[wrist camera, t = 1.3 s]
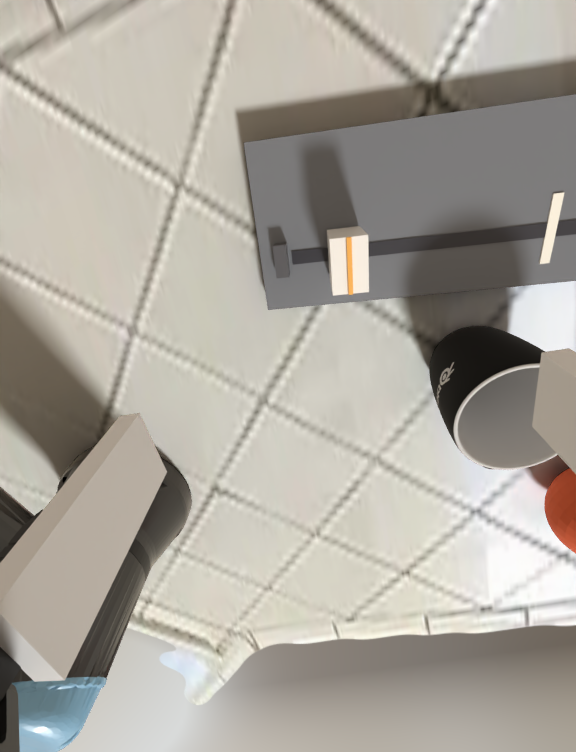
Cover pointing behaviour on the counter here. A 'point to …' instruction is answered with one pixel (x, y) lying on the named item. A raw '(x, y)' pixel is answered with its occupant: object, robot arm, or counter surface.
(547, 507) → the tomato
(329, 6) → the counter surface
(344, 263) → the fader tab
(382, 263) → the console
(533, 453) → the mug
